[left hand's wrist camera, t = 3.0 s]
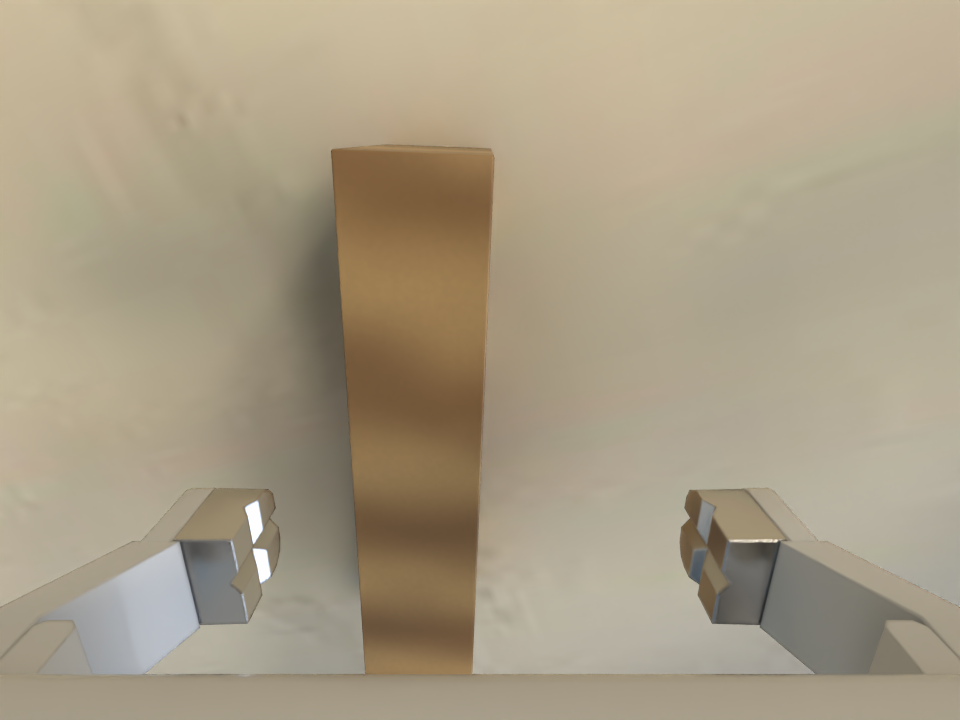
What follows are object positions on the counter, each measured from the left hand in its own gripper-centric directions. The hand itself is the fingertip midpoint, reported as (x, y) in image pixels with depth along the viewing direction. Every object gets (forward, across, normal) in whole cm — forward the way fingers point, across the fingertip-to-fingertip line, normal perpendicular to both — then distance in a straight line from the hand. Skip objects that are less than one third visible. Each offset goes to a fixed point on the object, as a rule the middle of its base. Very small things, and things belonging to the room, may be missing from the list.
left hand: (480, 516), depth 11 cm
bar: (+18, +2, +6) cm, 19 cm away
